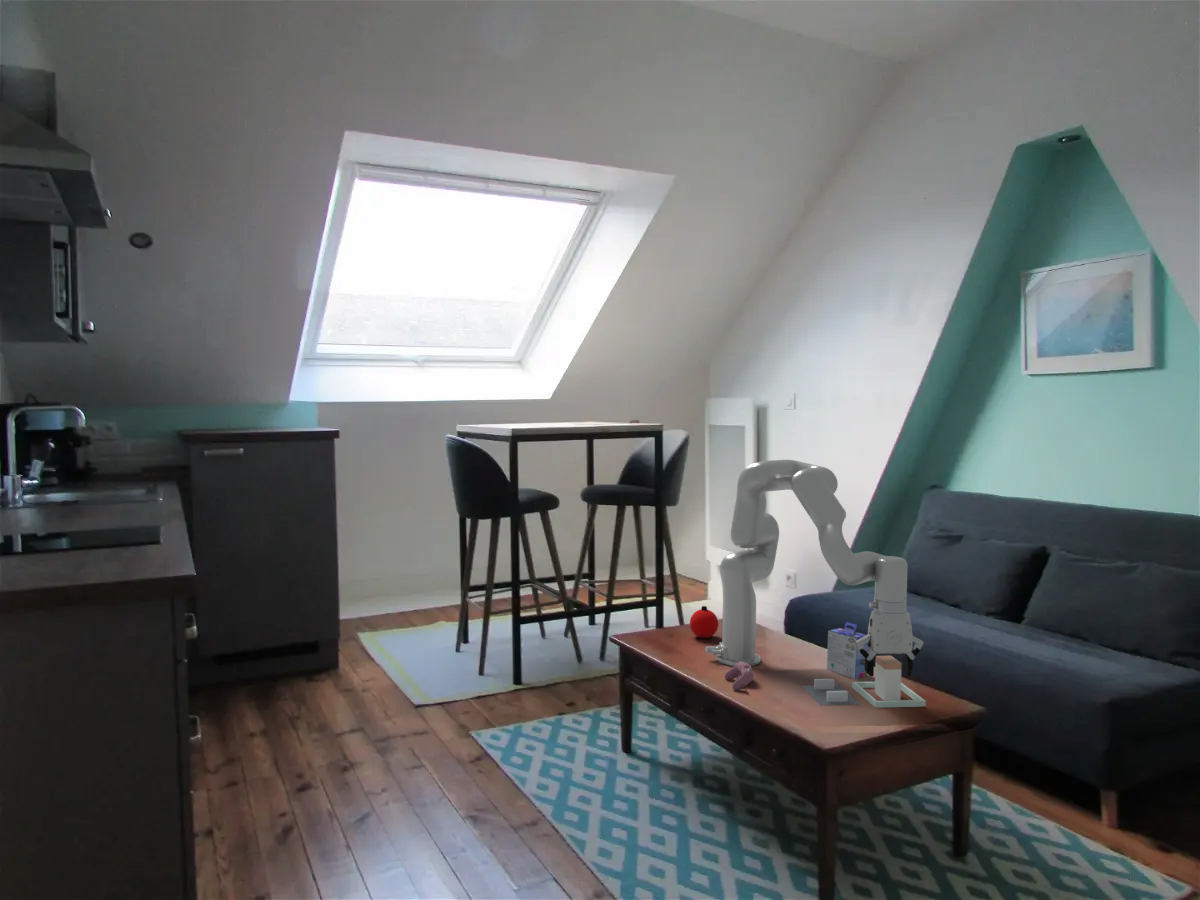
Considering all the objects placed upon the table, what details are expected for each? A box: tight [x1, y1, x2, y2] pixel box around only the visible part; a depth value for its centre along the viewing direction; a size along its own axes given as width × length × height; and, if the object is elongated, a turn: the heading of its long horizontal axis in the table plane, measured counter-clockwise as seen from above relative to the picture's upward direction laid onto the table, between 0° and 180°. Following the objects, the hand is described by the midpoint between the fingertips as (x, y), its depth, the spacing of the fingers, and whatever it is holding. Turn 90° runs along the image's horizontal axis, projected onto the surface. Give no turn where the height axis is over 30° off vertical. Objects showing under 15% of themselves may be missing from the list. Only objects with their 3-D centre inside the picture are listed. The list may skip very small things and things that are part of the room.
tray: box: [851, 681, 927, 708], centre depth 211 cm, size 13×15×2 cm
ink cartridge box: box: [826, 621, 868, 680], centre depth 229 cm, size 10×6×14 cm, turn 36°
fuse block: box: [801, 678, 861, 706], centre depth 211 cm, size 10×14×4 cm
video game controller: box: [724, 661, 755, 692], centre depth 222 cm, size 10×5×7 cm, turn 5°
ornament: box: [689, 605, 719, 639], centre depth 266 cm, size 9×9×10 cm
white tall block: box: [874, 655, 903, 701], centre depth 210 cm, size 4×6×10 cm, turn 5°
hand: (888, 674), depth 210 cm, fingers open, 9 cm apart
